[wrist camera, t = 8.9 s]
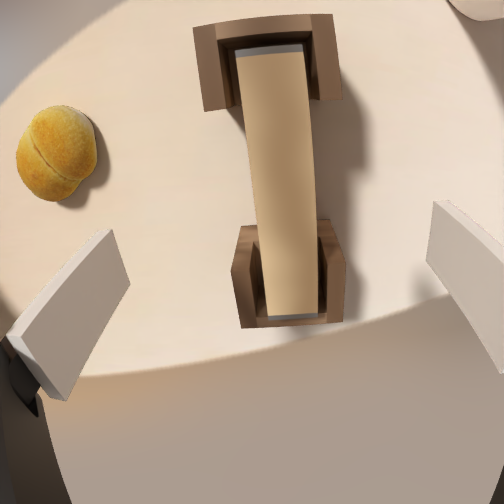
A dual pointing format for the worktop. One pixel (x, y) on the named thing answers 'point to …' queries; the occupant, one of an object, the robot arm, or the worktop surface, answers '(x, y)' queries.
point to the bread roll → (56, 152)
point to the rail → (282, 175)
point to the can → (480, 9)
